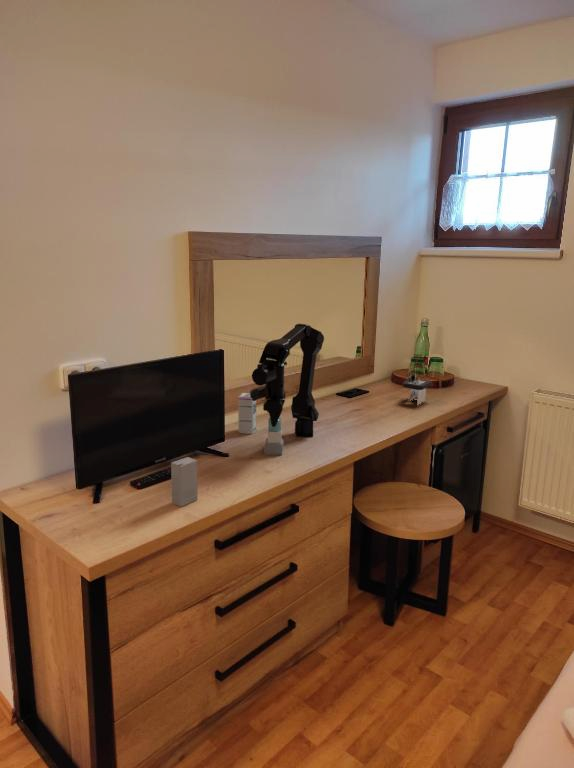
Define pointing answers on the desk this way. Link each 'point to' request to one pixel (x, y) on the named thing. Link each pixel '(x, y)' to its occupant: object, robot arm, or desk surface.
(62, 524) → the desk surface
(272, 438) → the top block
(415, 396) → the black-topped pedestal
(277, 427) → the teal cylinder
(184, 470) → the skincare box
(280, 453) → the base block
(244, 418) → the syrup box
